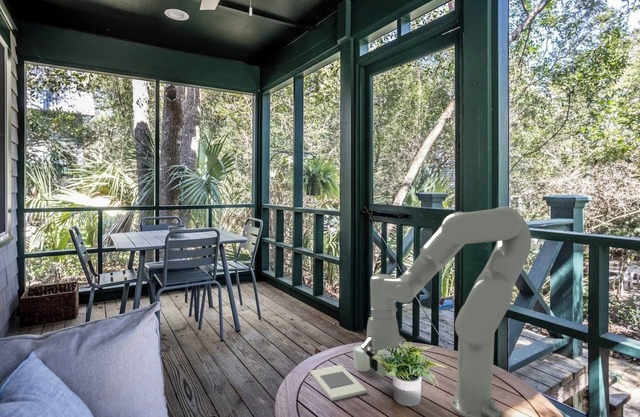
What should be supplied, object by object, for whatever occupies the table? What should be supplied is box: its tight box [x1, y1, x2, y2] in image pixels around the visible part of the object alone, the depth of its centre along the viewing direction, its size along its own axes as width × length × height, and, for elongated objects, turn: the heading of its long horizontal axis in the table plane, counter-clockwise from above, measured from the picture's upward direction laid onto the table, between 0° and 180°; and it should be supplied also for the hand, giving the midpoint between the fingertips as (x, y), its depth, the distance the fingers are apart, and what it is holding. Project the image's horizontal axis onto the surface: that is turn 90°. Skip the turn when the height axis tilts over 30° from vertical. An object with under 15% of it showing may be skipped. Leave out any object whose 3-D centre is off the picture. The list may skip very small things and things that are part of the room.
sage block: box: [369, 350, 387, 378], centre depth 122 cm, size 7×7×5 cm
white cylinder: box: [352, 344, 371, 373], centre depth 133 cm, size 7×7×7 cm
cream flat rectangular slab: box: [309, 364, 367, 402], centre depth 123 cm, size 18×12×1 cm, turn 23°
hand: (384, 366), depth 122 cm, fingers closed on sage block, 7 cm apart
